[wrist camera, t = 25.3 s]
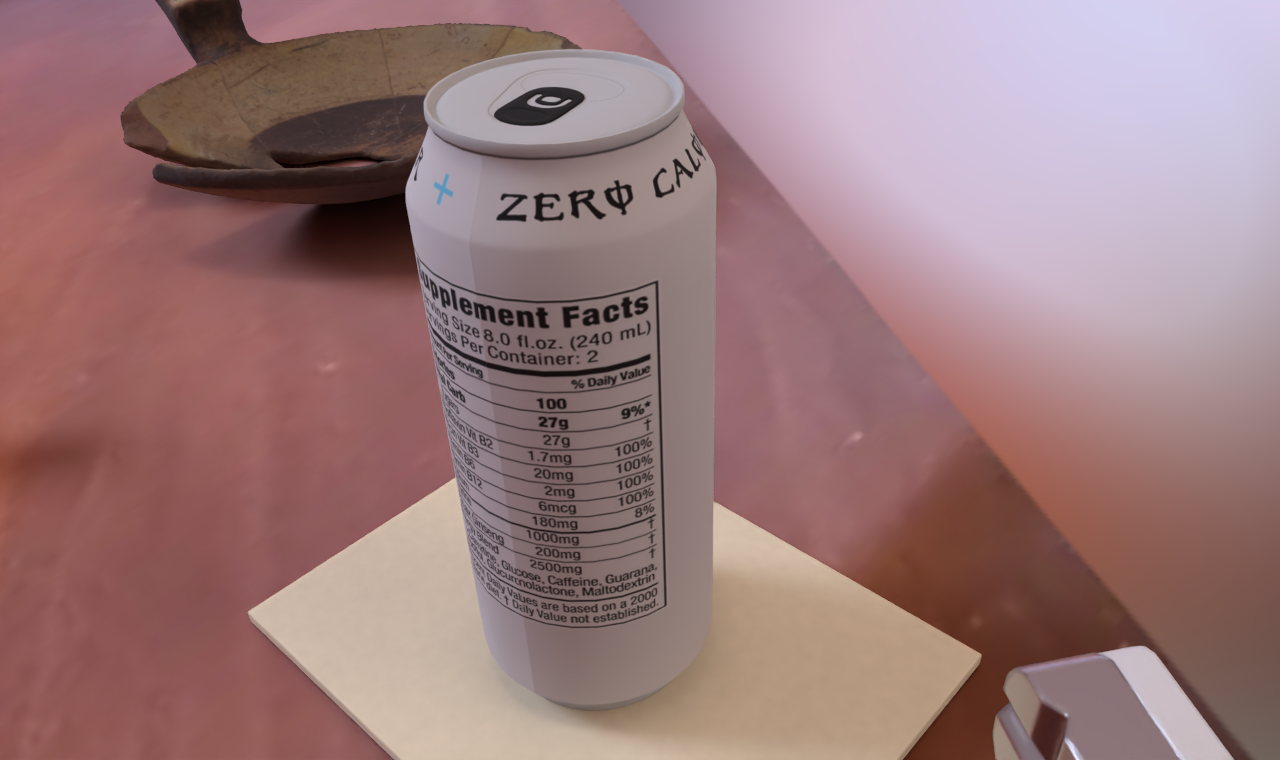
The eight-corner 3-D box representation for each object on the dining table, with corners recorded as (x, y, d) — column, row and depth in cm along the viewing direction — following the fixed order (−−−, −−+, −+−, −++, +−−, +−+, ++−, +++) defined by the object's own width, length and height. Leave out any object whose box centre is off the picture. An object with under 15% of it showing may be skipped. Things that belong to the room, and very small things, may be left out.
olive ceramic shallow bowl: (201, 348, 41) (139, 165, 36) (107, 108, 62) (62, -25, 58) (690, 207, 49) (690, 45, 45) (459, 39, 71) (443, -83, 66)
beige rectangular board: (980, 664, 27) (982, 653, 27) (680, 1037, 20) (680, 1028, 20) (558, 420, 36) (557, 411, 36) (250, 621, 29) (246, 611, 29)
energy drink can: (748, 597, 29) (769, 62, 20) (644, 767, 25) (613, 186, 16) (565, 528, 31) (512, 25, 23) (441, 672, 27) (318, 124, 18)
